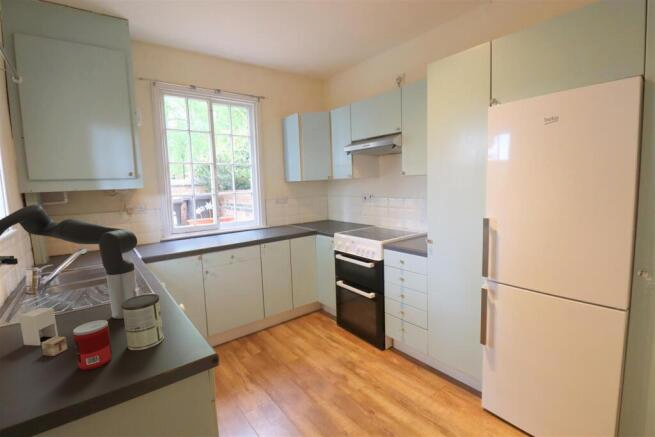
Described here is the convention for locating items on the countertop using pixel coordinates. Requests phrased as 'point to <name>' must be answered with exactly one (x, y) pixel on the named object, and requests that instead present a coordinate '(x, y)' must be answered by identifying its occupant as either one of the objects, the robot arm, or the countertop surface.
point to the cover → (38, 325)
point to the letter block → (54, 346)
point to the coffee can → (142, 321)
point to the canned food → (92, 344)
